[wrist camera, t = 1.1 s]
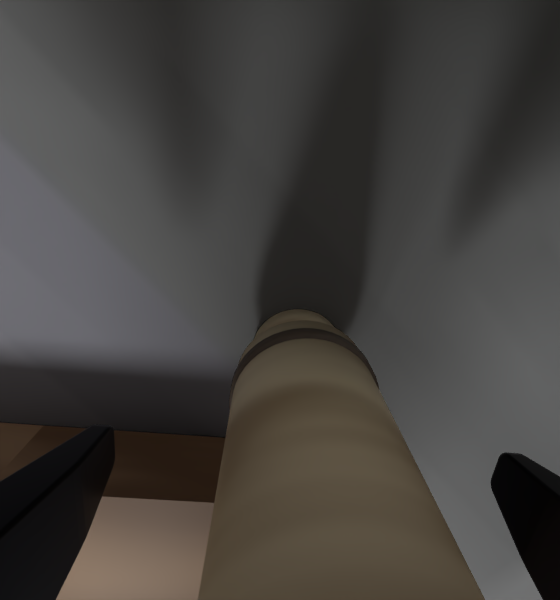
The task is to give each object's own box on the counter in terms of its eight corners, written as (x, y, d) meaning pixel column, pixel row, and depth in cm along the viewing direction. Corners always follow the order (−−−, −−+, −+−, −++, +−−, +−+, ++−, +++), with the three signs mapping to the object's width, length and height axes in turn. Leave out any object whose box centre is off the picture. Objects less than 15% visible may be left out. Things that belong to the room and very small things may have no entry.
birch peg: (344, 403, 14) (460, 764, 5) (235, 395, 14) (178, 758, 5) (363, 301, 13) (557, 565, 4) (243, 290, 12) (182, 547, 4)
